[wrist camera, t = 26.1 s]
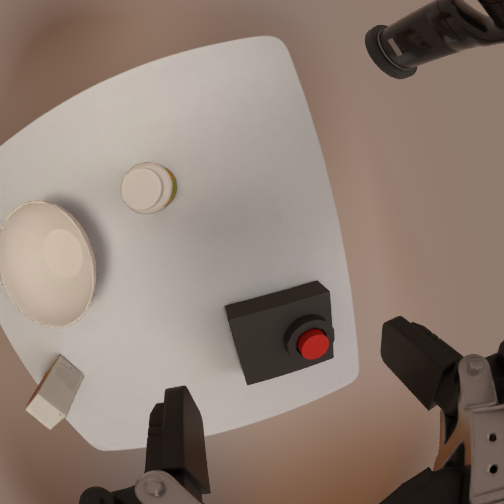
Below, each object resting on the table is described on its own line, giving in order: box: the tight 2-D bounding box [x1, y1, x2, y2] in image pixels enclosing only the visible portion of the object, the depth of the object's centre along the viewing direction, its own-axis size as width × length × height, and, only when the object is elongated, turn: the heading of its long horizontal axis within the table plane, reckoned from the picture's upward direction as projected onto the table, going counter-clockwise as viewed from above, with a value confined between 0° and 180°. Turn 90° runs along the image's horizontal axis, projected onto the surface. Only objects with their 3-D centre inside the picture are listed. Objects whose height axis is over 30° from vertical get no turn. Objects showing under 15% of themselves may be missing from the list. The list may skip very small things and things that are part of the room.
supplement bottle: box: [121, 162, 177, 214], centre depth 27 cm, size 5×5×10 cm
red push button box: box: [225, 281, 334, 385], centre depth 37 cm, size 14×12×6 cm
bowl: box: [0, 201, 96, 328], centre depth 28 cm, size 16×16×7 cm
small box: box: [25, 355, 84, 429], centre depth 30 cm, size 8×6×10 cm
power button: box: [297, 329, 329, 359], centre depth 34 cm, size 4×4×2 cm
